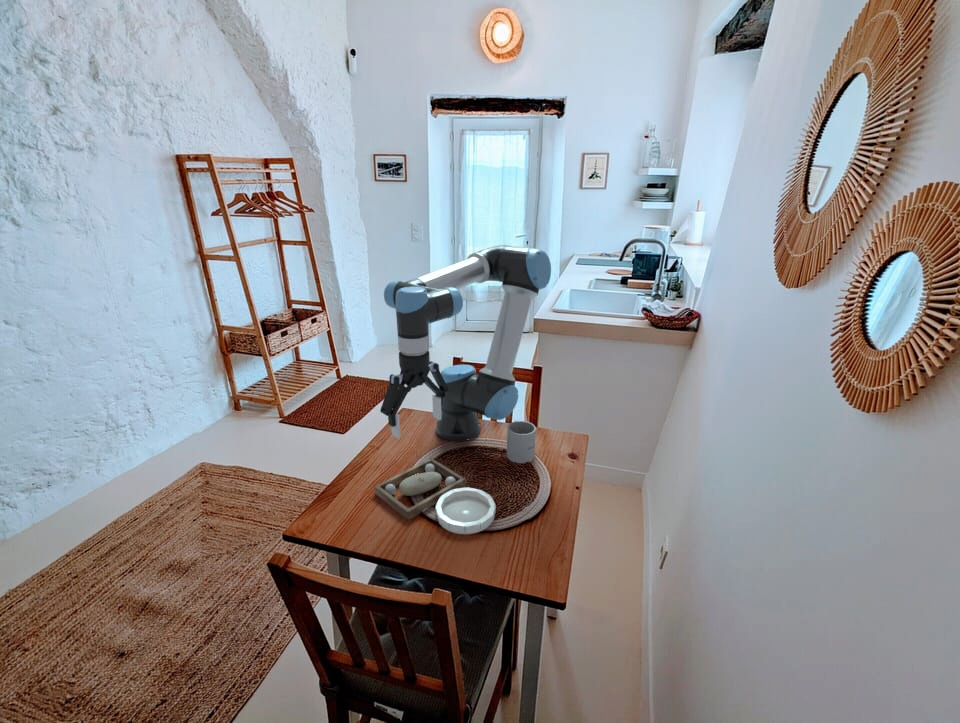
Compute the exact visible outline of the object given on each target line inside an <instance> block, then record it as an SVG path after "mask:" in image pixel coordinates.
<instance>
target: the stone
mask: <svg viewBox="0 0 960 723" xmlns="http://www.w3.org/2000/svg"><path fill="white" fill-rule="evenodd" d="M442 478H443V477H442V474H440V473H439V472H437V471H434V472H421V473H420V474H416V475H413V476H410V477H408V478H406V479H404V480H403V481H402V482H401V483H400V484H399V487H398V488H399V492H400V493H401V494H402V495H404V496H409V497H412V496H418V495H421V494H424V493H427V492H429V491H432V490H433V489H435V488H436V487H437V486H439V484H440V483H441V481H442Z"/></svg>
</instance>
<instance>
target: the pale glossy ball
mask: <svg viewBox="0 0 960 723" xmlns="http://www.w3.org/2000/svg"><path fill="white" fill-rule="evenodd" d="M426 472H436V470H435V467H434V465H433V464H427V465H426V466H425V471H424V473H426Z"/></svg>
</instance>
